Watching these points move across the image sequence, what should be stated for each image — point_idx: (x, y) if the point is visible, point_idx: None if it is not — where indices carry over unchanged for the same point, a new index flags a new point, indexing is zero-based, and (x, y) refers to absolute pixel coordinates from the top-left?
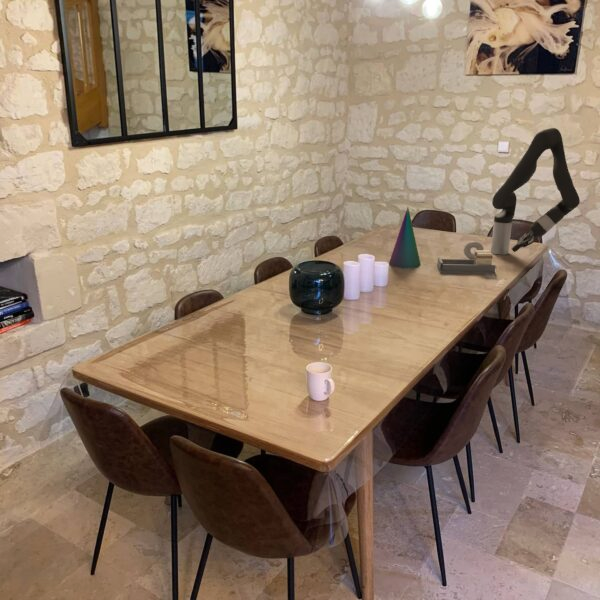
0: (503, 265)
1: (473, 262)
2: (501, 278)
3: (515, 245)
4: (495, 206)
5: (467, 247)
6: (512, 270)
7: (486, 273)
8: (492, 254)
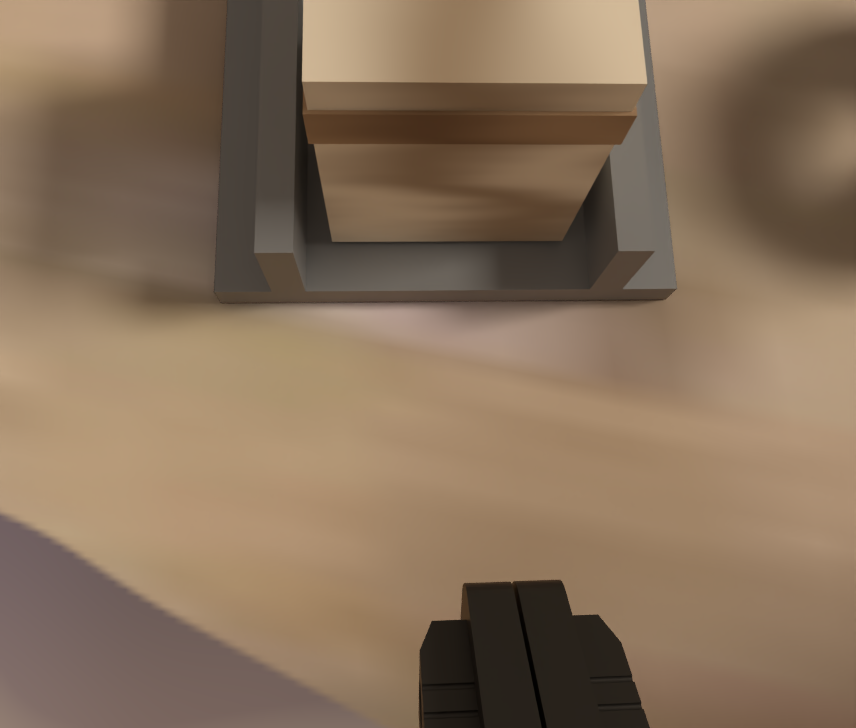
0: (762, 537)
1: None
2: (18, 352)
3: (545, 720)
4: None
5: None
6: None
7: (222, 170)
8: (304, 84)
